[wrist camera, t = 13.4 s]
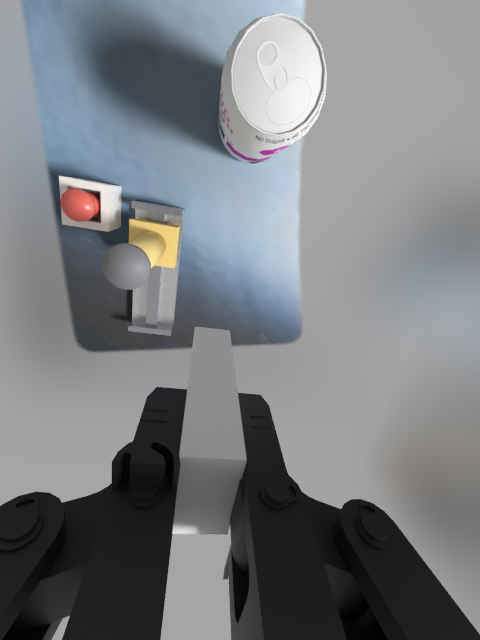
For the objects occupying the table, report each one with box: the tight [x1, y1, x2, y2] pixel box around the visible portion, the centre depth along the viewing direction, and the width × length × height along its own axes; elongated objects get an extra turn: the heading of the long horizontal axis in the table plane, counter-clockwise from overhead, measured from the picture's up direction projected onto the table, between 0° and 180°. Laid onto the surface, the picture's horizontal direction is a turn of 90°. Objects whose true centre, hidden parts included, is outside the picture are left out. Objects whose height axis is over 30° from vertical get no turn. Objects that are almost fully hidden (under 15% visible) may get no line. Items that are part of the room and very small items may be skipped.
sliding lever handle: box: [102, 218, 180, 290], centre depth 30 cm, size 5×6×15 cm
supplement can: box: [218, 13, 327, 164], centre depth 27 cm, size 8×8×15 cm
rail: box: [128, 200, 185, 336], centre depth 39 cm, size 17×6×3 cm, turn 170°
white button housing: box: [59, 176, 121, 232], centre depth 34 cm, size 5×5×5 cm
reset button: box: [61, 189, 101, 222], centre depth 32 cm, size 3×3×5 cm
